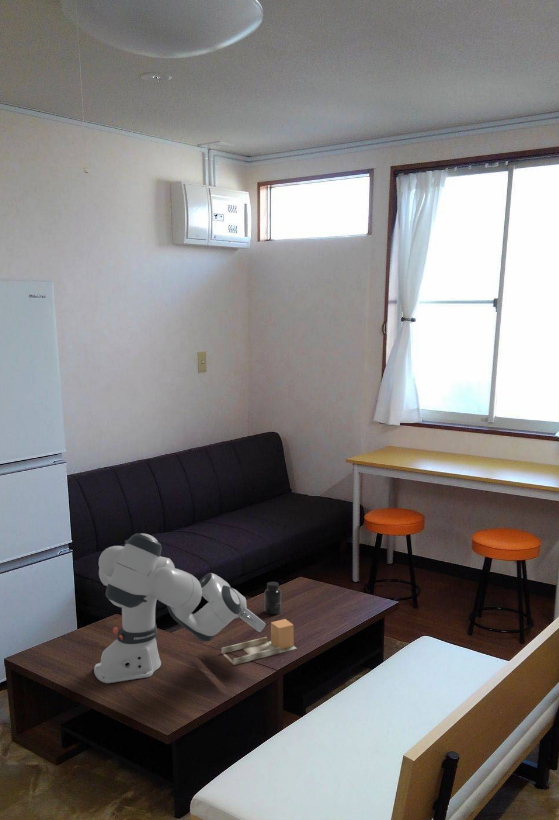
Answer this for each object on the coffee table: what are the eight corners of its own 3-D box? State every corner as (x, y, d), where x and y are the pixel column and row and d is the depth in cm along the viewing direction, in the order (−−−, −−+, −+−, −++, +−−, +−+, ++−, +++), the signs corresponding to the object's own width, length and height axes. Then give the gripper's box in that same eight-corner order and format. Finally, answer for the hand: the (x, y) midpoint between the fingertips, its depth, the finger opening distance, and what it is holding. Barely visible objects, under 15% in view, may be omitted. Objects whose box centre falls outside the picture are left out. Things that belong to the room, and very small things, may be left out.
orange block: (279, 649, 251) (278, 628, 250) (271, 643, 256) (270, 622, 255) (293, 646, 254) (293, 624, 253) (285, 639, 259) (285, 618, 258)
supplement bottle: (281, 615, 285) (280, 586, 284) (264, 615, 285) (263, 586, 284) (281, 608, 292) (281, 580, 291) (265, 608, 292) (264, 580, 291)
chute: (234, 669, 240) (233, 659, 240) (221, 657, 249) (221, 647, 248) (297, 652, 252) (297, 643, 252) (283, 641, 261) (283, 632, 260)
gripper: (253, 607, 236) (278, 629, 242) (226, 588, 254) (250, 608, 260) (241, 623, 235) (267, 644, 241) (215, 602, 252) (240, 622, 258)
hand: (258, 625), depth 250 cm, fingers closed
